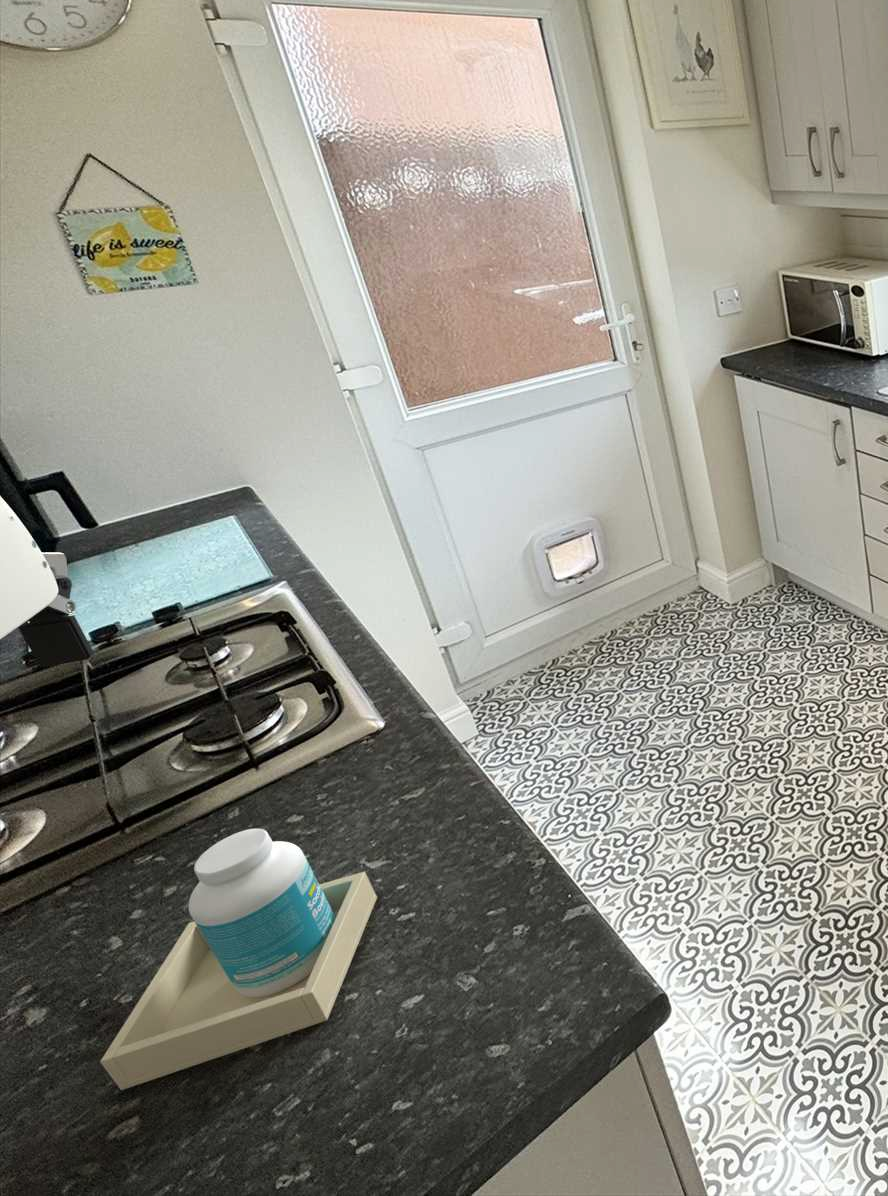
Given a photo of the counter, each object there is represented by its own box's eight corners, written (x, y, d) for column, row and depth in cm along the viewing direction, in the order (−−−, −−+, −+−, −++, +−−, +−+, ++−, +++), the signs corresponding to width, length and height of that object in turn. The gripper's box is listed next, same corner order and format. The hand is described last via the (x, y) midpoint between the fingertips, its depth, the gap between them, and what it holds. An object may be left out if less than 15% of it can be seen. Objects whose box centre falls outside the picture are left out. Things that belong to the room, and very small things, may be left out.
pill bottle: (357, 946, 72) (302, 837, 67) (254, 1019, 66) (185, 905, 61) (324, 908, 75) (270, 803, 71) (224, 974, 70) (158, 864, 65)
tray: (120, 1090, 62) (99, 1061, 60) (205, 949, 73) (188, 922, 71) (327, 1020, 66) (311, 992, 65) (377, 897, 77) (365, 870, 76)
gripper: (-60, 464, 61) (41, 647, 67) (-306, 566, 46) (-146, 789, 52) (65, 450, 64) (152, 627, 70) (-129, 543, 48) (4, 759, 55)
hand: (24, 697), depth 61 cm, fingers open, 9 cm apart
